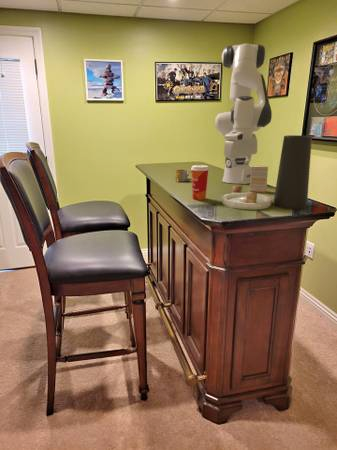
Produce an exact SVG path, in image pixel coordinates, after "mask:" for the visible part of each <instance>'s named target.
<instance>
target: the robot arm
mask: <svg viewBox="0 0 337 450" xmlns="http://www.w3.org/2000/svg"><path fill="white" fill-rule="evenodd" d="M266 58H267V52H266V47H265V45H262V44H258V43H257V44H252V43H251V44H250V43H241V44H236V45H235V44H234V45H232V44H230V45H227V46H225V47H224V48H223V51H222V53H221V62H222V66H223V67H224V68H227V69H231V68H232V72H231V77H230V85H229V87H230V89H229V101H230V102H231V103H232V104H234V106H233V107H232V108H231V109H230V111H225V112H219V113H218V114H217V115H216V116H215V118H214V119H215V120H214V126H215V128H216V130H217V131H218V132H219V133H220V134H221V135H222V136H223V138H224V140H225V142H224V148H223V150H224V151H223V154H224V156H225V159H224V160H225V162H224V164H225V166H224V170H223V177H222V181H221V182H223V183H226V184H234V185H235V184H237V185H238V184H239V185H240V184H241V185H242V184H243V185H248V184H250V175H251V166H250V162H251V159H252V156H253V155H256V154H257V153H258V139H257V135H256V134H255V133H254V132H258V131H259V130H260V129H261V128H265V127H266V126H268V125H269V124H270V123H271V121H272V118H273V111H272V108H271V105H270V100H269V96H268V95H269V94H268V89H267V86H266V85H267V84H266V81H265V78H264V75H263V74H262V73H260V71H259V70H258V69H259V68H261V67H262V66H263V65H264V63H265V60H266ZM252 91H255V92H256V94H257V95H256V96H257V100H258V103H257V104H255V97H252V94H251V93H252Z"/></svg>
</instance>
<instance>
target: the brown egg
mask: <svg viewBox="0 0 337 450" xmlns="http://www.w3.org/2000/svg"><path fill="white" fill-rule="evenodd" d="M231 193H242V185H240V184H239V185H238V184H237V185H235V184H234V185H232V190H231Z"/></svg>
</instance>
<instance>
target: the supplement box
mask: <svg viewBox="0 0 337 450" xmlns="http://www.w3.org/2000/svg"><path fill="white" fill-rule="evenodd" d="M250 167H251V175H250V183H249V192H255V193H264V194H266V193H267V189H268V185H267V184H268V172H269V165H251V166H250Z"/></svg>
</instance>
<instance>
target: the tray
mask: <svg viewBox="0 0 337 450" xmlns="http://www.w3.org/2000/svg"><path fill="white" fill-rule="evenodd" d="M246 196H247V192H241V193H232V192H231V193H227V194H226V193H225V194H224V195H222V196H220V197H221V198H220V199H221V203H222V205H223V206H226V207H228V208H232V209H237V210H238V209H239V210H248V211H249V210H251V211H252V210H253V211H254V210H255V211H256V210H265V209H268V208H270V207H272V204H273V198H271V197H270V196H268V195H263V194H259V193H257V200H256V203H246Z"/></svg>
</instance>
